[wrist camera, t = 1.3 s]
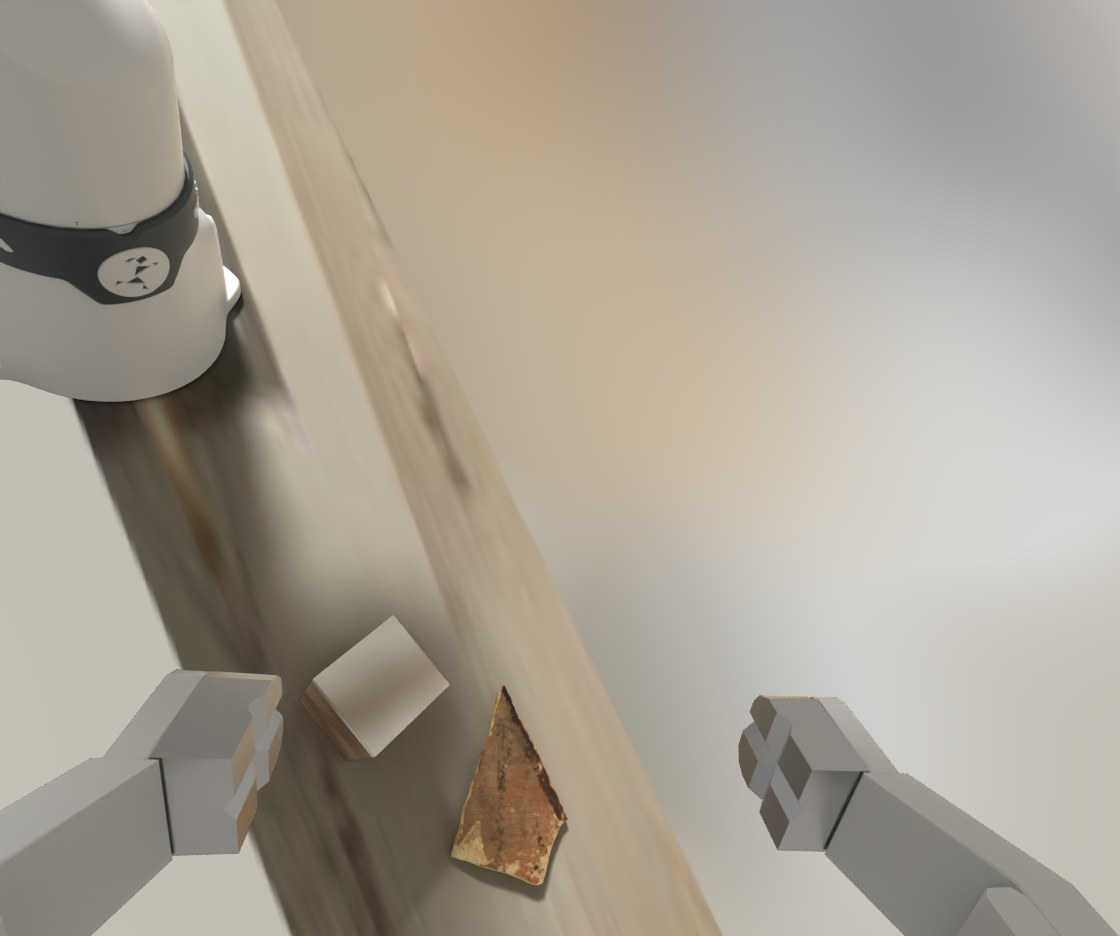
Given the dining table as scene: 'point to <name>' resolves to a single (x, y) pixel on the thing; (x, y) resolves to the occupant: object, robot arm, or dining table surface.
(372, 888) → the dining table surface
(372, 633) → the wooden block
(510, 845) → the shard
